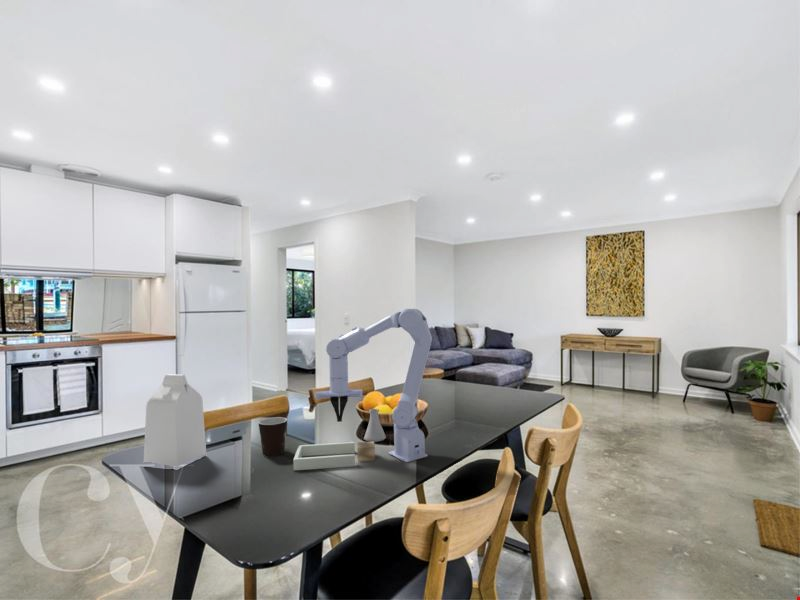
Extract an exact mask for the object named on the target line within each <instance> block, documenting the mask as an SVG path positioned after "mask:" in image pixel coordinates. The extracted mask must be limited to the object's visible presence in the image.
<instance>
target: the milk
mask: <svg viewBox="0 0 800 600" xmlns="http://www.w3.org/2000/svg"><path fill="white" fill-rule="evenodd" d="M203 405H204V403H203V397H202V394H200V393H199V392H198V391H197V390H196V389H195V388H194V387H192V385H190V384H188V380H187V378H186V374H175V373H174V374H171V373H169V374H165V375H164V378H163V381H162V384H161V385H160V386H159V387H158V388H157V390H156V391H155V392H154V393H153V394H152V395H151V396H150V397H149V399H148V401H147V403H146V408H145V427H144V429H145V430H144V445H143V446H144V448H143V463H144V462H152V463H158V464H165V465H169V466H179V465H181V464H183V463H185V462H187V461H190V460H191V459H194V458H196V457H198V456H201V455H203V454H205V453H206V454H207V445H206V434H205V433H206V430H205V417H204V406H203Z"/></svg>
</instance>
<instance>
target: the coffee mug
mask: <svg viewBox="0 0 800 600" xmlns="http://www.w3.org/2000/svg"><path fill="white" fill-rule="evenodd" d="M287 426H288V418H287V417H283V416H282V417H281V416H276V417H267V418H264V419H261V420H259V421H258V429H259V436H260V443H261V444H260V445H261V450H262V456H263V455H265V456H264V457H266V456H273V457H278V456H281V455H282V454H283V455H284V453H285V447H286V445H285V444H286V436H287V435H286V434H287V428H288V427H287Z"/></svg>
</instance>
